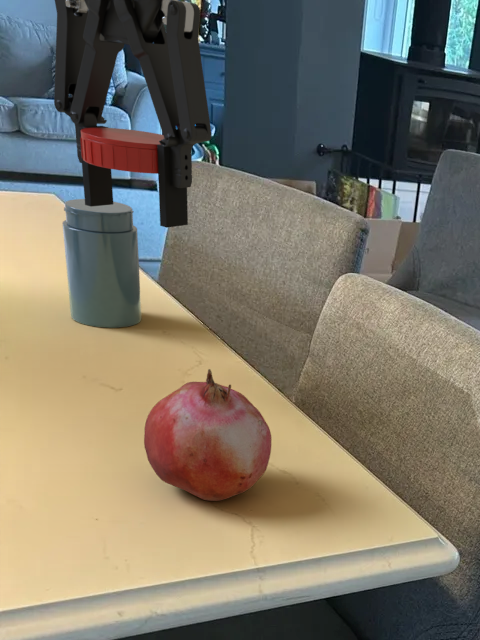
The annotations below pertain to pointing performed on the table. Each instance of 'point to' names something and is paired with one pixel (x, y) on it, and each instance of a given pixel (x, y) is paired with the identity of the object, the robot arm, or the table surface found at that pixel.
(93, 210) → the jar
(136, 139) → the lid
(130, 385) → the table surface
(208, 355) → the table surface
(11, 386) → the table surface
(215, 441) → the fruit
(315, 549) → the table surface
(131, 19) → the robot arm
